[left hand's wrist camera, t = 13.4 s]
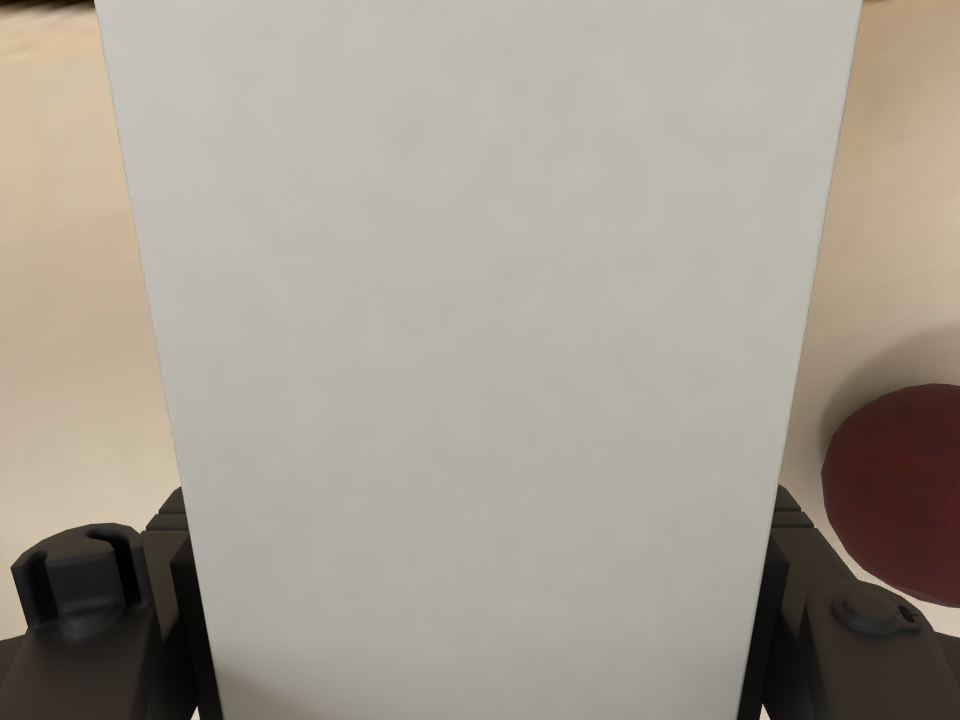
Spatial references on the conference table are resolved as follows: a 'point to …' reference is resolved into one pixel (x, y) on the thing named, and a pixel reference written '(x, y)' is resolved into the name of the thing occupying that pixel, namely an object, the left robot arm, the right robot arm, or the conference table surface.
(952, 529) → the potato
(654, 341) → the post
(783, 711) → the left robot arm
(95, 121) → the conference table surface
